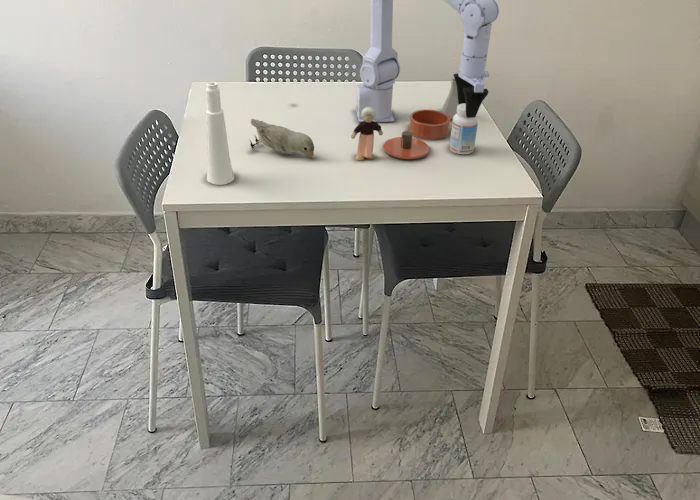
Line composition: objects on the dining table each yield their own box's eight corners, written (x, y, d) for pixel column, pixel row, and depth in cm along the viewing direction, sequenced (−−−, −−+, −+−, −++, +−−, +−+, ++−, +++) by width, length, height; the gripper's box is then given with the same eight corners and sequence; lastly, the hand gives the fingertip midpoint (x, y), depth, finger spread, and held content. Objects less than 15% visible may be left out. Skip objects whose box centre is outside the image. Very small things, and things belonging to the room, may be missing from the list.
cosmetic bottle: (237, 182, 147) (229, 87, 135) (209, 186, 145) (199, 90, 133) (231, 170, 152) (223, 77, 139) (204, 174, 150) (194, 79, 137)
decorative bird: (309, 163, 156) (309, 134, 152) (247, 152, 160) (245, 123, 155) (317, 154, 160) (317, 125, 156) (256, 143, 164) (255, 114, 160)
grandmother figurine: (356, 163, 157) (358, 113, 149) (348, 156, 159) (350, 106, 152) (384, 157, 160) (387, 107, 152) (376, 151, 162) (379, 101, 155)
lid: (386, 161, 158) (387, 143, 155) (379, 141, 167) (380, 123, 164) (432, 160, 159) (434, 142, 156) (423, 140, 168) (425, 123, 165)
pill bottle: (475, 146, 166) (482, 104, 160) (471, 157, 161) (477, 113, 155) (451, 142, 168) (457, 100, 161) (446, 152, 163) (452, 109, 156)
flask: (467, 121, 179) (472, 85, 173) (440, 120, 179) (444, 84, 173) (464, 110, 185) (468, 75, 179) (438, 109, 185) (441, 74, 179)
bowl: (412, 140, 168) (414, 125, 166) (405, 123, 176) (407, 109, 174) (452, 139, 169) (454, 125, 167) (443, 123, 177) (445, 109, 175)
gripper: (500, 64, 145) (491, 122, 153) (483, 43, 157) (475, 98, 165) (469, 64, 145) (461, 123, 152) (453, 43, 156) (447, 98, 164)
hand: (466, 110), depth 158 cm, fingers open, 7 cm apart
